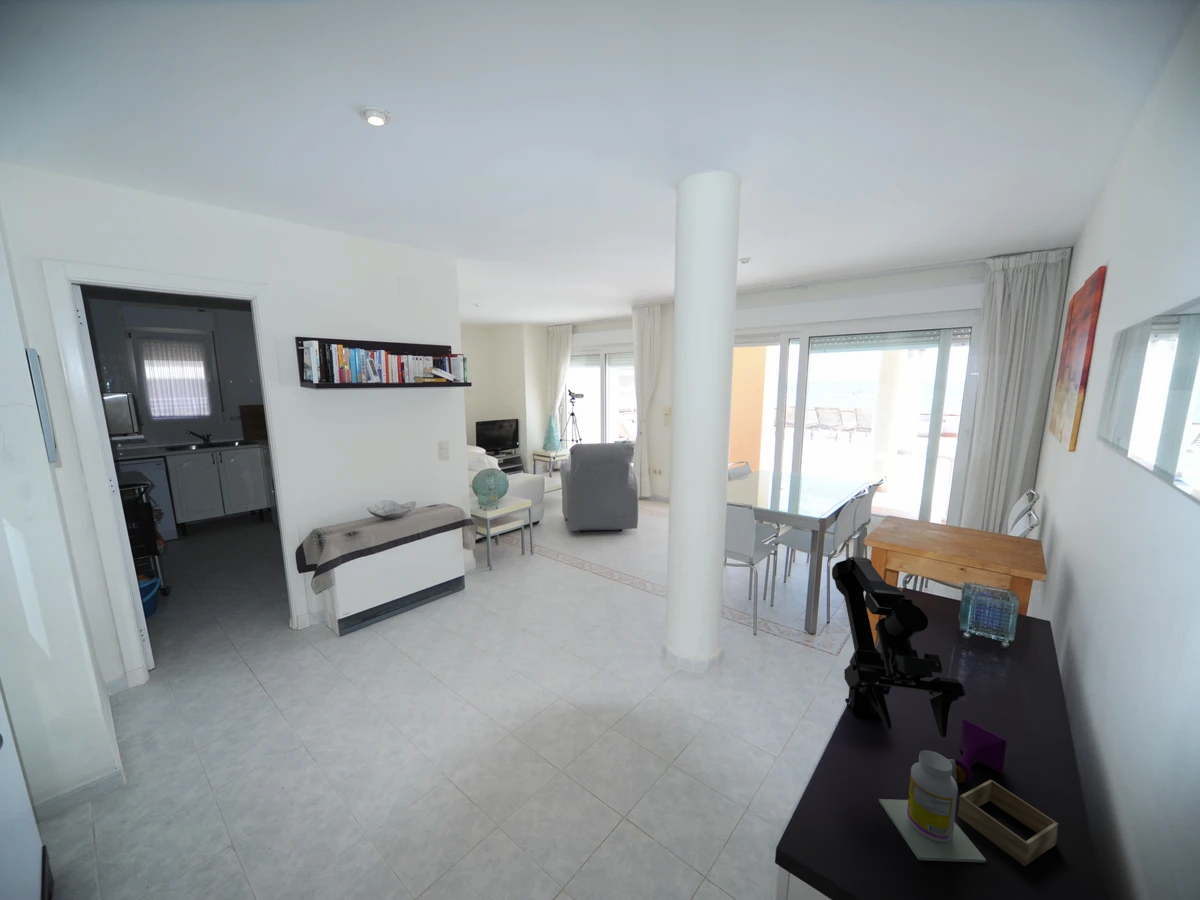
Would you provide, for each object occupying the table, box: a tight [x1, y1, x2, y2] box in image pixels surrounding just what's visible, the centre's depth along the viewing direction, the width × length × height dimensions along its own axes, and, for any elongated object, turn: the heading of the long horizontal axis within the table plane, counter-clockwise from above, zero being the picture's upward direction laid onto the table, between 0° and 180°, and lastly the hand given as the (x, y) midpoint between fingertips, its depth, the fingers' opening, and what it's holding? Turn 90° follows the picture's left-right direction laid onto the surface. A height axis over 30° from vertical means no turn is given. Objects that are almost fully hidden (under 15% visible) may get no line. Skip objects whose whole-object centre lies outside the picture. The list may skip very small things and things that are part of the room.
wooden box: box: [957, 779, 1059, 867], centre depth 80 cm, size 10×10×4 cm
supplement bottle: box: [907, 749, 959, 842], centre depth 79 cm, size 7×7×13 cm
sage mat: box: [878, 798, 987, 863], centre depth 80 cm, size 11×11×1 cm
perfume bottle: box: [947, 718, 1007, 784], centre depth 92 cm, size 8×8×18 cm
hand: (916, 732), depth 85 cm, fingers open, 9 cm apart
